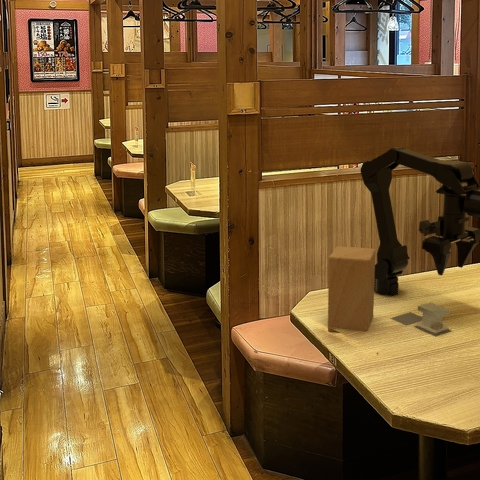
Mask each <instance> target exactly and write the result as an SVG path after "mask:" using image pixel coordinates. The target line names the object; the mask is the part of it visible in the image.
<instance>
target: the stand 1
mask: <svg viewBox="0 0 480 480" xmlns="http://www.w3.org/2000/svg"><path fill="white" fill-rule="evenodd" d="M422 319H423V316H421V315H419V314H416V313H414V312H412V311H409V312H405V313H402V314H400V315H396V316H392V317H390V320H393V321H396V322H398V323H400V324H401V325H404V326H410V325H413V324H417V322H421V321H422Z"/></svg>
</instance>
